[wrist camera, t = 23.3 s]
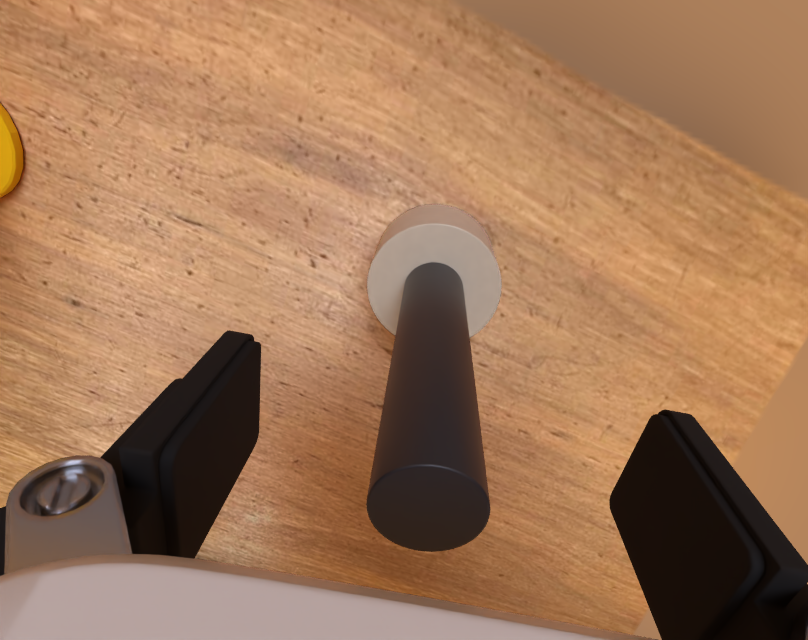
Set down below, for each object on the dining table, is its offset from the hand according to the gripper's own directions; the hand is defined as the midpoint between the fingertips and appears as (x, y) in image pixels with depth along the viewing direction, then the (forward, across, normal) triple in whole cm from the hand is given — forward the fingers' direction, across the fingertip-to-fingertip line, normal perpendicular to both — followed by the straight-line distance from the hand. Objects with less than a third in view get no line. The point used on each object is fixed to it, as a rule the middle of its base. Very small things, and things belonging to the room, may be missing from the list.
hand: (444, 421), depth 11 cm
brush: (+10, 0, 0) cm, 10 cm away
